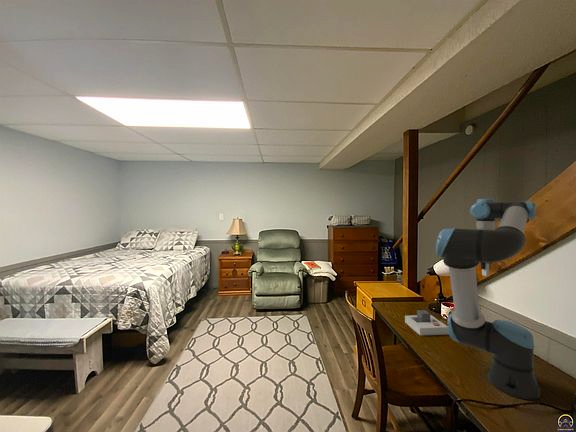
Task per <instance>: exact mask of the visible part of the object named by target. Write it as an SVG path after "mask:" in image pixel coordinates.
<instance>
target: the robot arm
mask: <svg viewBox="0 0 576 432" xmlns="http://www.w3.org/2000/svg"><path fill="white" fill-rule="evenodd" d="M536 209H537V207H536V202H534V201H528V200H527V201H524V200H522V201H502V202H501V201H499V202H498V201H496V200H495V199H494V198H479V199H476V203H474V204H472V205H471V206H470V209H469V213H470V214H471V216H472V217H473V218H475V219H476V221H475V222H476V223H475V224H476V229H474V228H473V229H471V228H470V229H469V228H456V227H453V228H442V229H441V231H440V232H439V233H438V236H437V240H436V245H435V255H436V256H437V257H438V258H440V259H442V261H443V265H445V266H446V267H448V271H449V277H450V278H449V279H450V286H451V293H452V299H453V305H454V306H453V308H454V310H452V311H451V313H449V314H448V316H447V325H446V326H447V327H448V332H449V334H448V336H449V337H450V338H451V339H452V341H454V342H457V343H459V344H461V345H465V346H469V347H471V348H475V349H478V350H481V351H483V352H487V353H490V354H492V361H491V363H490V366H489V368H488V370H487V380H488V382H489V383H490V385H492V386H493V387H495V388H496V389H498V390H500V391H501V392H503V393H505V394H507V395H509V396H512V397H515V398H517V399H518V398H519V399H523V400H527V401H528V400H529V401H530V400H532V401H533V400H537V399H539V398H540V397H541V387H540V385H539V383H538V380H537V378H536V375H535V372H534V371H535V370H534V369H535V368H534V367H535V366H534V365H535V364H534V363H535V362H534V349H535V347H536V345H535V344H534V336H533V334H532V333H531V332H530V331H529V330H528V329H526V328H525V327H523V326H522V325H520V324H518V323H515V322H512V321H508V320H504V319H503V320H502V319H495V320H493V322H490V321H487V320H486V317H485V315H484V314H483V313H482V312H481V310H480V300H479V293H478V291H479V290H478V282H477V281H478V280H477V272H476V271H477V270H476V267H478V266H479V265H480V269H481V275H482V276H483V277H490V270H491V264H495V263H499V262H504V261H507V260H508V259H511V258H513V257H514V256H516V255H518V254H519V253H520V252H521V251H522V250H523V248H524V247H525V245H526V235H525V234H524V232H525V229H526V224H527V221H528V220H532V219H535V218H536V211H537V210H536ZM496 219H500V222H499V223H498V227H496Z"/></svg>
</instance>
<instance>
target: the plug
mask: <svg viewBox="0 0 576 432" xmlns="http://www.w3.org/2000/svg"><path fill="white" fill-rule="evenodd" d="M416 315H417V322H419V323H422V322H430V315H431V313H430V312H429V311H427V310H425V309H422V310H421V309H420V310H419V309H417V310H416Z"/></svg>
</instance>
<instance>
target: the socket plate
mask: <svg viewBox="0 0 576 432" xmlns="http://www.w3.org/2000/svg"><path fill="white" fill-rule="evenodd" d="M404 322H405V324H406V325H408V326H409V327H410V328H411V329H412V330H413V331H414V332H416V334H418V335H419V336H440V335H441V336H443V335H445V336H446V335H449V332H448V327H447V326H448V325H446V324H445V323H443V322H442V321H440V320H439V319H437V318H436V317H435V316H433V315H432V314H430V322H422V323H419V322H417V314H416V315H415V314H414V315H404Z"/></svg>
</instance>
